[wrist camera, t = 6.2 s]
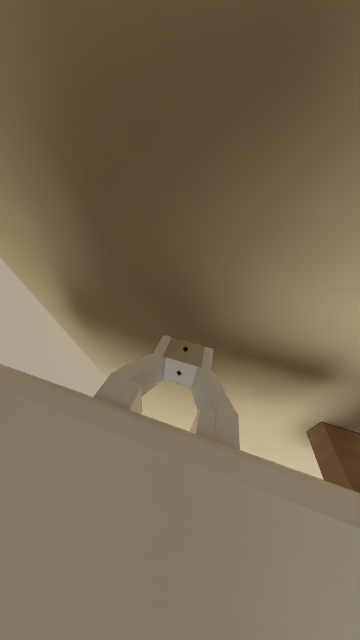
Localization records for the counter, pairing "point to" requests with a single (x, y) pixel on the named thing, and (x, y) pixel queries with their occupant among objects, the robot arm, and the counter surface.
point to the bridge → (337, 455)
